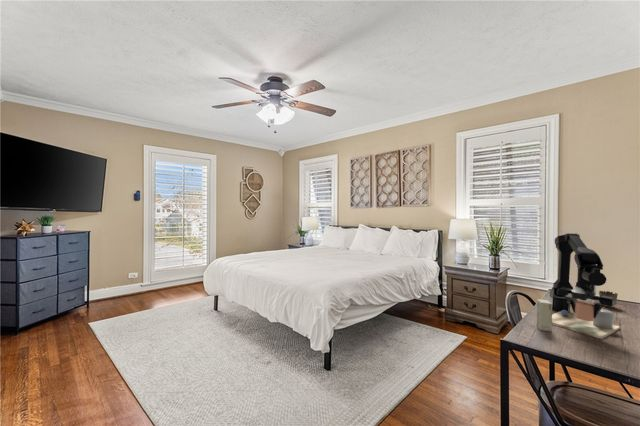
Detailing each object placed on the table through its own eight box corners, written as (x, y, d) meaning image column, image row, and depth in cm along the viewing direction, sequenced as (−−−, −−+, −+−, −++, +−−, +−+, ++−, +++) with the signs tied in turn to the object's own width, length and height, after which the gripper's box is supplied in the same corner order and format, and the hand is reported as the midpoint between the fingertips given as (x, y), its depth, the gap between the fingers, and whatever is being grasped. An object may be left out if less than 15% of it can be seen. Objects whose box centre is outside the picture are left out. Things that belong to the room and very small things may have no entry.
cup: (594, 304, 167) (595, 290, 167) (606, 304, 168) (607, 290, 167) (608, 308, 159) (609, 294, 159) (621, 308, 160) (621, 294, 160)
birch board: (540, 320, 140) (540, 318, 140) (560, 313, 152) (560, 310, 151) (602, 339, 121) (602, 336, 121) (620, 328, 133) (620, 326, 133)
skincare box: (552, 332, 128) (553, 304, 127) (539, 330, 129) (540, 302, 129) (547, 326, 133) (548, 300, 133) (536, 324, 135) (537, 298, 135)
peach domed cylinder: (578, 314, 134) (578, 299, 134) (596, 319, 128) (597, 303, 128) (572, 317, 131) (573, 301, 130) (591, 322, 125) (591, 305, 125)
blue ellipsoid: (559, 315, 145) (559, 309, 145) (562, 314, 147) (562, 308, 146) (567, 317, 142) (567, 311, 142) (569, 316, 144) (569, 310, 144)
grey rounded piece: (590, 325, 134) (591, 309, 133) (595, 322, 137) (596, 307, 137) (609, 330, 128) (610, 314, 128) (614, 327, 131) (615, 312, 131)
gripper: (552, 277, 133) (551, 311, 133) (608, 287, 117) (606, 326, 117) (563, 275, 139) (561, 307, 139) (617, 284, 123) (616, 321, 123)
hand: (584, 315), depth 129 cm, fingers closed on peach domed cylinder, 6 cm apart
